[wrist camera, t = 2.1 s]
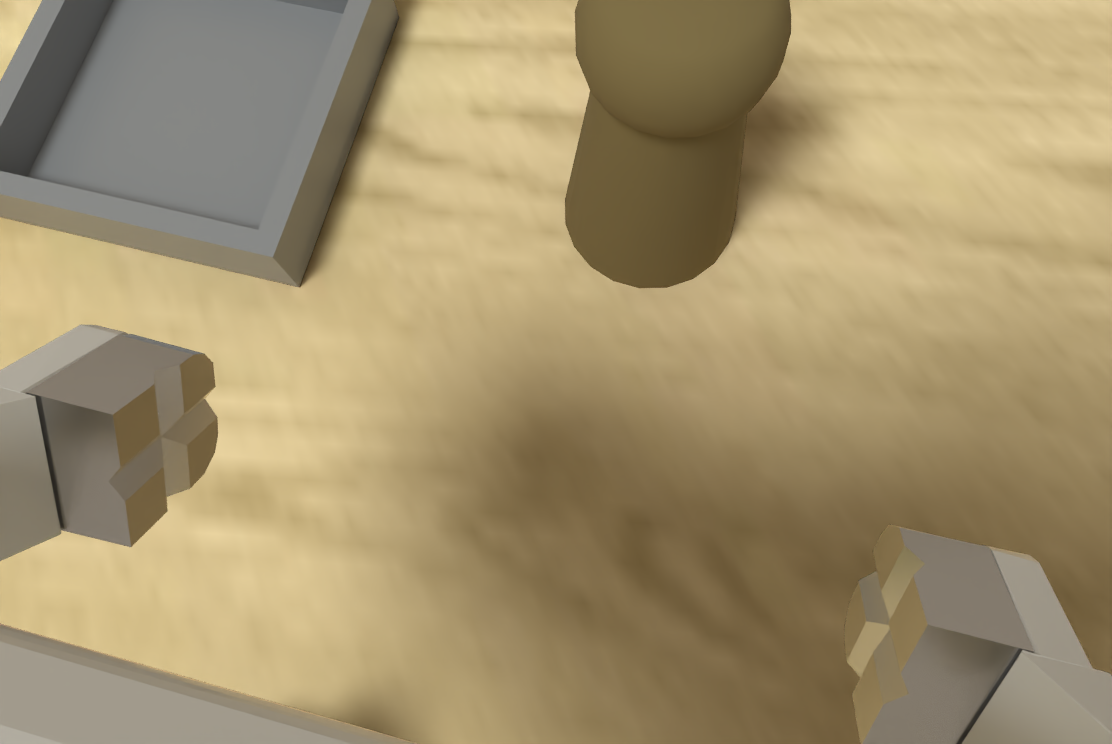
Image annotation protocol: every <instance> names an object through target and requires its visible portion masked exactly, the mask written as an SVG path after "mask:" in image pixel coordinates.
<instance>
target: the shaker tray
mask: <svg viewBox="0 0 1112 744" xmlns="http://www.w3.org/2000/svg"><path fill="white" fill-rule="evenodd" d="M398 19H399V15H398V12H397V9H396V5H395V2H394V0H42V2H41V4H40V6H39V8H38V10H37V12H36V14H35V15H34V17H33V19H32V21H31V23H30V25H29V27H28V29H27V31H26V33H25V35H24V37H23V39H22V41H21V42H20V44H19V46H18V48H17V50H16V52H15V54H14V56H13V58H12V60H11V62H10V64H9V66H8V68H7V69H6V71H5V73H4V75H3V77H2V79H1V81H0V217H3V218H7V219H11V220H15V221H20V222H24V223H28V224H32V225H37V226H41V227H45V228H49V229H54V230H58V231H62V232H66V233H71V234H75V235H79V236H83V237H88V238H92V239H96V240H100V241H105V242H109V243H113V244H117V245H122V246H126V247H130V248H134V249H139V250H143V251H147V252H151V253H156V254H160V255H164V256H168V257H173V258H177V259H181V260H185V261H190V262H194V263H198V264H202V265H207V266H211V267H215V268H219V269H224V270H228V271H232V272H236V273H241V274H245V275H249V276H253V277H258V278H262V279H266V280H270V281H275V282H279V283H283V284H287V285H292V286H296V287H300V284H301V281H302V279H303V276H304V273H305V270H306V268H307V265H308V262H309V260H310V257H311V254H312V252H313V249H314V246H315V243H316V241H317V238H318V235H319V233H320V230H321V227H322V224H323V222H324V219H325V216H326V214H327V211H328V208H329V206H330V203H331V200H332V197H333V195H334V192H335V189H336V187H337V184H338V181H339V178H340V176H341V173H342V170H343V168H344V165H345V162H346V160H347V157H348V154H349V151H350V149H351V146H352V143H353V141H354V138H355V135H356V132H357V130H358V127H359V124H360V122H361V119H362V116H363V114H364V111H365V108H366V105H367V103H368V100H369V97H370V95H371V92H372V89H373V86H374V84H375V81H376V78H377V76H378V73H379V70H380V68H381V65H382V62H383V59H384V57H385V54H386V51H387V49H388V46H389V43H390V40H391V38H392V35H393V32H394V30H395V27H396V24H397V22H398Z"/></svg>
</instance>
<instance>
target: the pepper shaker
mask: <svg viewBox="0 0 1112 744" xmlns="http://www.w3.org/2000/svg"><path fill="white" fill-rule="evenodd" d="M575 33H576V56H577V59H578V61H579V64H580V66H581V69H582V71H583V73H584V76H585V78H586V81H587V83H588V86H589V88H590V94H589V99H588V103H587V107H586V112H585V116H584V120H583V125H582V129H581V133H580V138H579V142H578V146H577V151H576V155H575V159H574V164H573V168H572V172H571V177H570V181H569V185H568V190H567V194H566V198H565V220H566V226H567V229H568V231H569V234H570V237H571V239H572V242H573V245H574V247H575V248H576V249H577V251H578V252H579V253H580V254H581V255H582V257H583V258H584V259H585V260H586V261H587V263H588V264H589V265H590V266H591V267H592V268H594V269H596V270H597V271H599V272H600V273H602V274H603V275H605V276H607V277H608V278H610V279H611V280H613V281H616V282H620V283H623V284H627V285H631V286H634V287H638V288H661V287H670V286H673V285H676V284H679V283H682V282H685V281H688V280H691V279H693V278H695V277H696V276H697V275H699V274H700V273H702V272H703V271H704V270H706V269H707V268H708V267H710V266H711V265H713V264H714V263H715V261H716V260H717V258H718V257H719V256H720V254H721V253H722V251H723V250H724V248H725V247H726V246H727V244H728V242H729V239H730V235H731V232H732V228H733V224H734V221H735V214H736V205H737V196H738V188H739V179H740V171H741V162H742V153H743V145H744V136H745V128H746V119H747V113H748V112H749V111H750V110H751V109H752V108H753V107H754V106H755V105H756V104H757V103H758V101H759V100H760V99H761V98H762V96H763V95H764V93H765V92H766V91H767V89H768V88H769V87H770V85H771V84H772V83H773V81H774V80H775V78H776V77H777V75H778V73H779V70H780V68H781V65H782V63H783V60H784V56H785V53H786V49H787V45H788V42H789V38H790V34H791V10H790V2H789V0H579V1H578V4H577V7H576V10H575Z"/></svg>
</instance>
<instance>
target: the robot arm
mask: <svg viewBox="0 0 1112 744" xmlns="http://www.w3.org/2000/svg"><path fill="white" fill-rule="evenodd" d="M215 387H216V386H215V377H214V367H213V362H212V361H211V360H210V359H209V358H208V357H207V356H206V355H205V354H203V353H200V352H196V351H192V350H189V349H185V348H181V347H177V346H174V345H170V344H166V343H163V342H159V341H155V340H152V339H148V338H144V337H140V336H137V335H133V334H127V333H125V332H122V331H118V330H114V329H109V328H105V327H101V326H97V325H79V326H77V327H76V328H74V329H72V330H70V331H69V332H67V333H65V334H63V335H62V336H60V337H58V338H56V339H55V340H53V341H51V342H49V343H48V344H46V345H44V346H42V347H40V348H39V349H37V350H35V351H33V352H32V353H30V354H28V355H26V356H25V357H23V358H21V359H19V360H18V361H16V362H14V363H12V364H11V365H9V366H7V367H5V368H4V369H2V370H0V561H1V560H4V559H6V558H8V557H10V556H13V555H15V554H17V553H19V552H22V551H24V550H26V549H28V548H31V547H33V546H35V545H37V544H40V543H42V542H44V541H46V540H49V539H51V538H53V537H55V536H58V535H60V534H61V530H63V531H67V532H71V533H75V534H79V535H83V536H87V537H91V538H96V539H100V540H104V541H108V542H112V543H116V544H120V545H124V546H129V547H132V546H133V545H134V544H135V543H136V542H137V541H138V540H139V539H140V538H141V537H142V536H143V535H144V534H145V533H146V532H147V531H148V530H149V529H150V528H151V527H152V526H153V525H154V524H155V523H156V522H157V521H158V520H159V519H160V518H161V517H162V516H163V515H164V514H165V513H166V512H167V496H170V495H173V494H176V493H179V492H182V491H184V490H187V489H190V488H191V487H192V486H193V485H194V484H195V483H196V482H197V481H198V480H199V479H200V478H201V477H202V476H203V475H204V473H205V471H206V469H207V467H208V465H209V463H210V461H211V459H212V457H213V455H214V453H215V449H216V443H217V438H218V420H217V416H216V415H215V413H214V412H213V410H212V409H211V407H210V406H209V404H208V403H207V401H206V400H205V398H206V397H207V396H208V395H209V393H210V392H211V391H212V390H213V389H214V388H215ZM873 556H874V560H875V565H876V570H877V571H875V572H873V573H872V574H870V575H868V576H866V577H864V578H862V579H860V580H859V581H858V583H857V586H856V588H855V590H854V593H853V595H852V597H851V600H850V602H849V606H848V611H847V616H846V621H845V626H844V646H845V653H846V660H847V663H848V664H849V665H850V666H851V667H852V669H853V670H854V671H855V672H856V673H857V675H858V676H859V677H860V679H859V681H858V683H857V685H856V687H855V689H854V691H853V693H852V698H853V704H854V710H855V716H856V721H857V727H858V733H859V739H860V744H1112V675H1111V674H1110V673H1108V672H1104V671H1100V670H1096V669H1093V668H1092V666H1091V664H1090V662H1089V660H1088V658H1087V656H1086V654H1085V652H1084V650H1083V648H1082V646H1081V644H1080V642H1079V640H1078V638H1077V636H1076V634H1075V632H1074V630H1073V628H1072V626H1071V624H1070V622H1069V620H1068V618H1067V616H1066V614H1065V612H1064V610H1063V608H1062V606H1061V604H1060V603H1059V601H1058V599H1057V597H1056V595H1055V593H1054V591H1053V589H1052V587H1051V585H1050V583H1049V581H1048V579H1047V577H1046V575H1045V573H1044V571H1043V569H1042V567H1041V565H1040V563H1039V562H1038V561H1037V560H1035V559H1034V558H1033V557H1032V556H1030V555H1028V554H1023V553H1019V552H1014V551H1009V550H1005V549H1000V548H995V547H991V546H986V545H978V544H973V543H969V542H965V541H960V540H956V539H952V538H947V537H943V536H939V535H934V534H930V533H925V532H921V531H917V530H912V529H908V528H904V527H899V526H895V525H891V524H889V525H888V527H887V528H886V529H885V530H884V531H883V532H882V533H881V535H880V537H879V539H878V541H877V543H876V545H875V547H874V549H873ZM0 744H418V743H415V742H411V741H408V740H404V739H401V738H397V737H394V736H390V735H387V734H383V733H380V732H376V731H373V730H369V729H366V728H362V727H359V726H356V725H352V724H349V723H345V722H342V721H338V720H335V719H331V718H328V717H324V716H321V715H317V714H314V713H310V712H307V711H303V710H300V709H296V708H293V707H289V706H286V705H282V704H279V703H275V702H272V701H268V700H265V699H261V698H258V697H254V696H251V695H247V694H244V693H241V692H237V691H234V690H230V689H227V688H223V687H220V686H216V685H213V684H209V683H206V682H202V681H199V680H195V679H192V678H188V677H185V676H181V675H178V674H174V673H171V672H167V671H164V670H160V669H157V668H153V667H150V666H146V665H143V664H140V663H136V662H133V661H129V660H126V659H122V658H119V657H115V656H112V655H108V654H105V653H101V652H98V651H94V650H91V649H87V648H84V647H80V646H77V645H73V644H70V643H66V642H63V641H59V640H56V639H53V638H49V637H46V636H42V635H39V634H35V633H32V632H28V631H25V630H21V629H18V628H14V627H11V626H7V625H4V624H0Z"/></svg>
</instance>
